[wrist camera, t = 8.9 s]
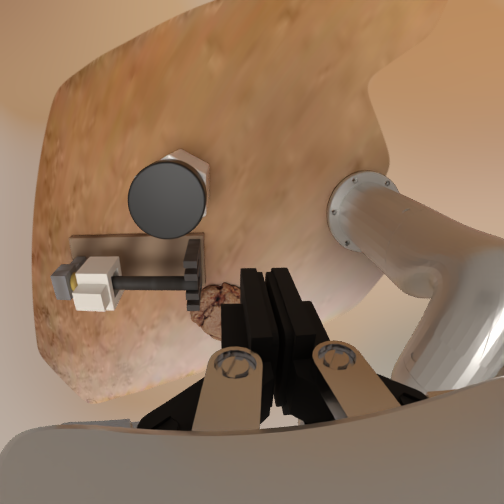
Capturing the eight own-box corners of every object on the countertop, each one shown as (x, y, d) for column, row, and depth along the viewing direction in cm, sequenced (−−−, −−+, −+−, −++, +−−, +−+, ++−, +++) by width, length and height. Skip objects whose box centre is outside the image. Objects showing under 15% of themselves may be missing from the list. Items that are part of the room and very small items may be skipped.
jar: (139, 191, 40) (111, 216, 29) (166, 139, 38) (145, 145, 27) (194, 221, 43) (185, 255, 32) (224, 171, 41) (224, 188, 30)
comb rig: (203, 232, 44) (199, 259, 35) (205, 282, 47) (202, 317, 38) (71, 235, 42) (43, 260, 33) (80, 281, 45) (58, 312, 36)
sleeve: (118, 256, 39) (100, 283, 32) (124, 290, 41) (109, 321, 34) (89, 256, 38) (67, 282, 31) (96, 289, 40) (77, 319, 33)
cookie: (216, 343, 52) (216, 355, 49) (179, 300, 48) (177, 310, 45) (265, 318, 51) (268, 328, 48) (231, 270, 47) (232, 279, 44)
